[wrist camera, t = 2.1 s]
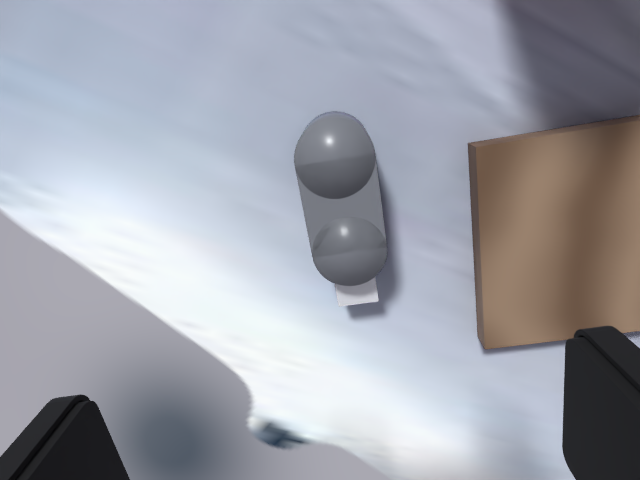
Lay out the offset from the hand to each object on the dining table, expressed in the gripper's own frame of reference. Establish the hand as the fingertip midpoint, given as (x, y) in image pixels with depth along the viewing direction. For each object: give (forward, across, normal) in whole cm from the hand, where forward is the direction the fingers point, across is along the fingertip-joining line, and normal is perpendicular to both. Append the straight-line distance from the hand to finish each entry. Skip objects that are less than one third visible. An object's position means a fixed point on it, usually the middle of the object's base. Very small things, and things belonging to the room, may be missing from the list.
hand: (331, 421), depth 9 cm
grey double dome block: (+18, -1, +1) cm, 18 cm away
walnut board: (+18, -15, +5) cm, 24 cm away
